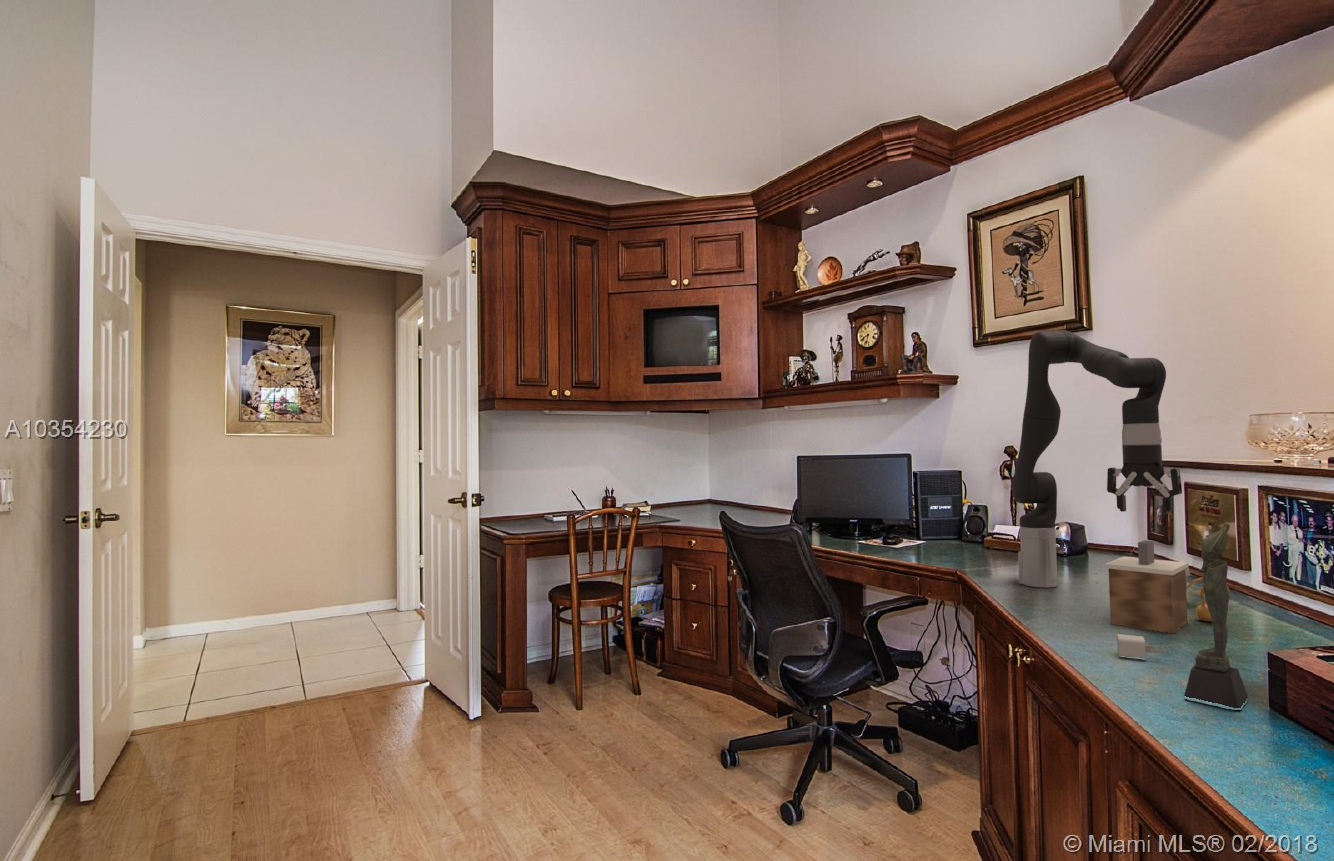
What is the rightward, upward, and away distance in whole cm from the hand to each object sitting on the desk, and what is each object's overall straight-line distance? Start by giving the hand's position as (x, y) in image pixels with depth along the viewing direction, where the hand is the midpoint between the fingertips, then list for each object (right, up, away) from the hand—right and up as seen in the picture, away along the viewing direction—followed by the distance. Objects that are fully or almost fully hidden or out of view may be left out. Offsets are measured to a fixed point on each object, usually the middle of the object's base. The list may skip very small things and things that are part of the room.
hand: (1144, 512), depth 158 cm
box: (+1, -26, 0) cm, 26 cm away
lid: (0, -13, 0) cm, 13 cm away
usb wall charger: (-18, -26, -24) cm, 40 cm away
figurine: (+14, -26, -1) cm, 29 cm away
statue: (-20, -26, -46) cm, 56 cm away
